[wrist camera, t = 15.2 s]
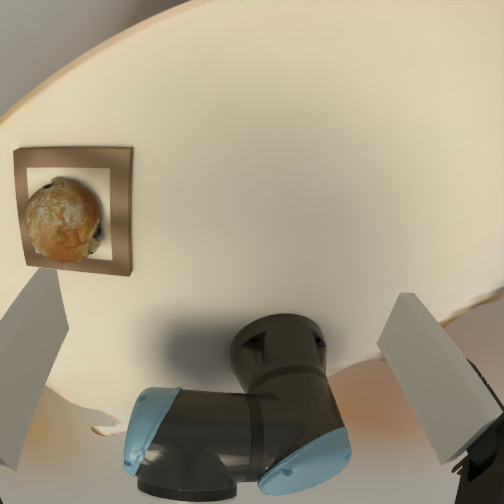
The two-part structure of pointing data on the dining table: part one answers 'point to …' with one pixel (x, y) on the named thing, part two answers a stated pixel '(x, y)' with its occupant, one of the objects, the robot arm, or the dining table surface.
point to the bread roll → (63, 221)
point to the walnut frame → (99, 183)
